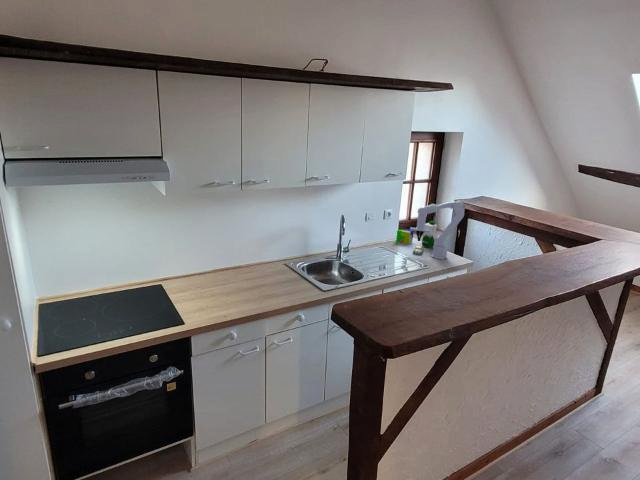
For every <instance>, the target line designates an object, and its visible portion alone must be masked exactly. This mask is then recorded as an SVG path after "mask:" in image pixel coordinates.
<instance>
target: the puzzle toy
mask: <svg viewBox="0 0 640 480" xmlns="http://www.w3.org/2000/svg"><path fill="white" fill-rule="evenodd" d="M414 232H415V231H412V230H411V231H410V228H404V227H401V228H399V229H398V230H397V231H396V240H395V241H396V243H397V242H399V243H398V244H402V243H403V244H404V245H410V244H411V243H413V239H414Z"/></svg>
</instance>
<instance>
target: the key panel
mask: <svg viewBox="0 0 640 480" xmlns="http://www.w3.org/2000/svg"><path fill="white" fill-rule="evenodd" d="M416 246H417V244H415V246H414V248H413V252H412V254H413V255H419V256H422V254H423V252H424V249H425V247H424V246H422V249H421V252H419V251H415V249H416Z"/></svg>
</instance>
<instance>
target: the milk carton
mask: <svg viewBox="0 0 640 480" xmlns="http://www.w3.org/2000/svg"><path fill="white" fill-rule="evenodd" d="M437 227H438V224H436V222H435V221H434V220H429V222H425V228H424V229H428V230H431V231H430V233H427V232H424V233H423V235H422V240H421V245H422V246H424V248H426V249H430V248H434V247H433V246H434V240H435V239H436V233H437Z"/></svg>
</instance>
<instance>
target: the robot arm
mask: <svg viewBox="0 0 640 480" xmlns="http://www.w3.org/2000/svg"><path fill="white" fill-rule="evenodd" d="M447 208H449V209H451V210H452V209H453V210H454V212H455V216H454V218H453V219H452V220H451V221H450V223H449V224H448V225H446V228H445V229H444V230H443V231H442V232H441V233H440V234H438V235H437V236H436V237H435V240H434V247H432V248H433V249H432V255H430V257H431V258H434V259H435V258H436V259H439V260H444V259H446V258H447V257H448V256H447V255H448V247H447V246H445V241H446V240H447V238H448V236H449V235H450V234H451V233H452V231H453V230H454V229H455V228H456V227H457V225H459V223H460V222H461V221H462V219H463V218H464V217H465V209H466V205H465V202H464V200H461V199H458V200H452V201H451V200H450V201H448V202H444V203H441V204H435V203H431V204H429V205H423V206H421V207H419V208H418V209H417V221H416V227H409V229H410V231H411V230H412V231H414V232H415V234H416V237H417V242H421V239H422V237H423V233H424V232H427V233H430V231H431V230H428V229H424V228H425V224H426V220H427V215H429V214H432V213H436V212H438V210H443V209H447Z"/></svg>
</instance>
